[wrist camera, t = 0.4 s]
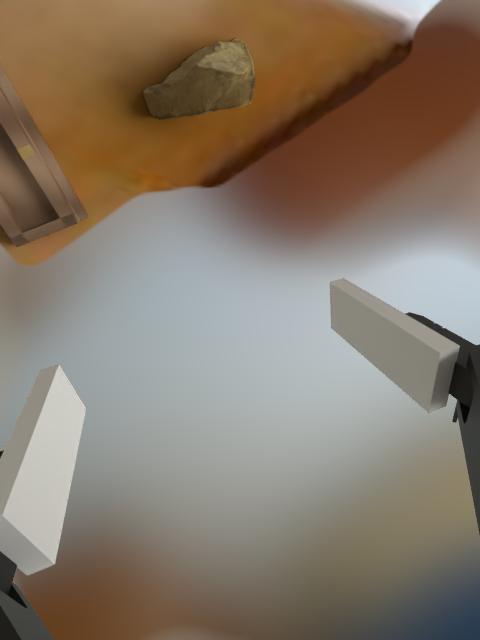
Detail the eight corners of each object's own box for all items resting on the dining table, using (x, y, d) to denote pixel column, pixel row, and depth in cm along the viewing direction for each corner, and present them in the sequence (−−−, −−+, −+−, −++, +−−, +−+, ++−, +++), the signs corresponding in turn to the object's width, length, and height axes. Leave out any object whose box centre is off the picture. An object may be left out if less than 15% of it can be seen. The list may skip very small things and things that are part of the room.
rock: (140, 146, 31) (238, 160, 33) (127, 60, 23) (258, 85, 25) (148, 59, 33) (239, 77, 35) (137, -49, 25) (257, -18, 27)
